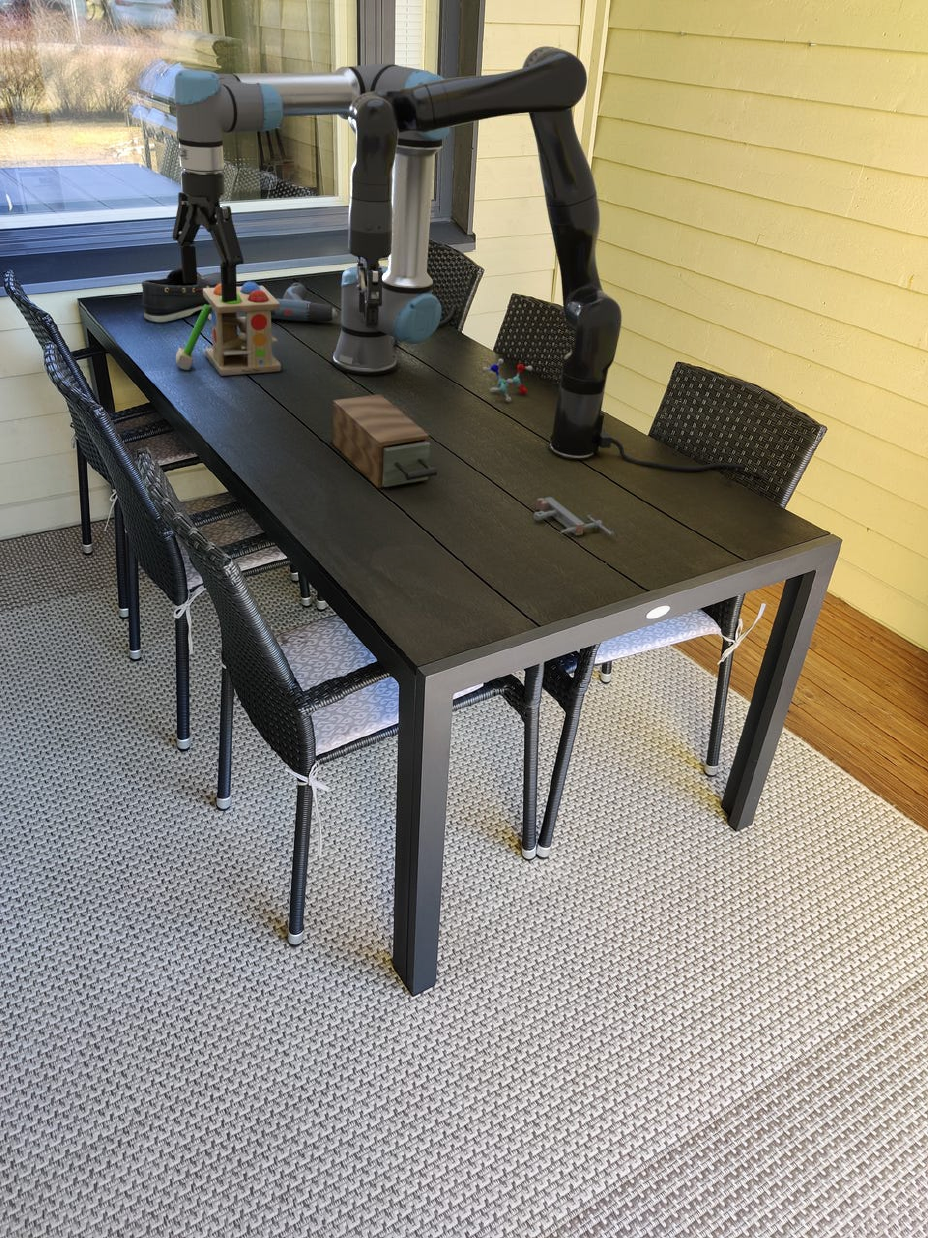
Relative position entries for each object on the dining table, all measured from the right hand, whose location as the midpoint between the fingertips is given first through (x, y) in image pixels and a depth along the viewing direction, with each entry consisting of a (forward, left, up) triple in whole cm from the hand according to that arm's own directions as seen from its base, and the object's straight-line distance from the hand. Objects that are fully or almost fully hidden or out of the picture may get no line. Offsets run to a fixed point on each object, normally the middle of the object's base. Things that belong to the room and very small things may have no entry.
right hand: (368, 319), depth 177 cm
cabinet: (-3, -1, -28) cm, 29 cm away
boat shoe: (+27, -99, -28) cm, 107 cm away
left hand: (+26, -20, -1) cm, 33 cm away
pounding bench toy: (+22, -55, -28) cm, 66 cm away
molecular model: (-40, -32, -28) cm, 58 cm away
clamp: (-31, +30, -28) cm, 52 cm away
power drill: (-3, -93, -28) cm, 98 cm away
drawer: (-4, +5, -28) cm, 28 cm away
